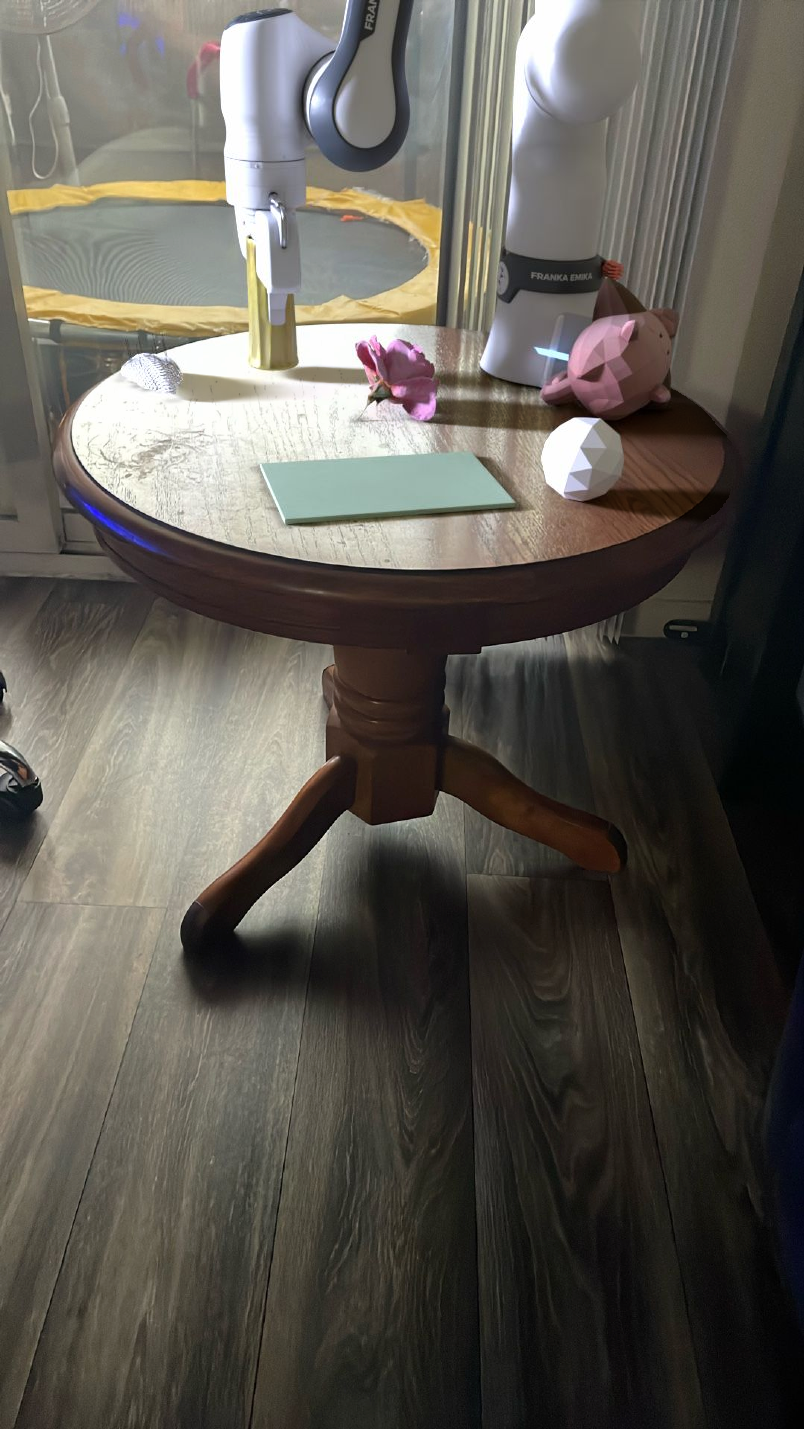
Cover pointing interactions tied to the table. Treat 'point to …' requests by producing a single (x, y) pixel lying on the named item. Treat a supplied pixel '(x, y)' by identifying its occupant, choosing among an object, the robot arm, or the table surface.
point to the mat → (382, 487)
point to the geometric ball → (583, 458)
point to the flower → (399, 376)
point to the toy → (618, 358)
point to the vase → (268, 324)
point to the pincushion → (153, 371)
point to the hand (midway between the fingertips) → (271, 315)
